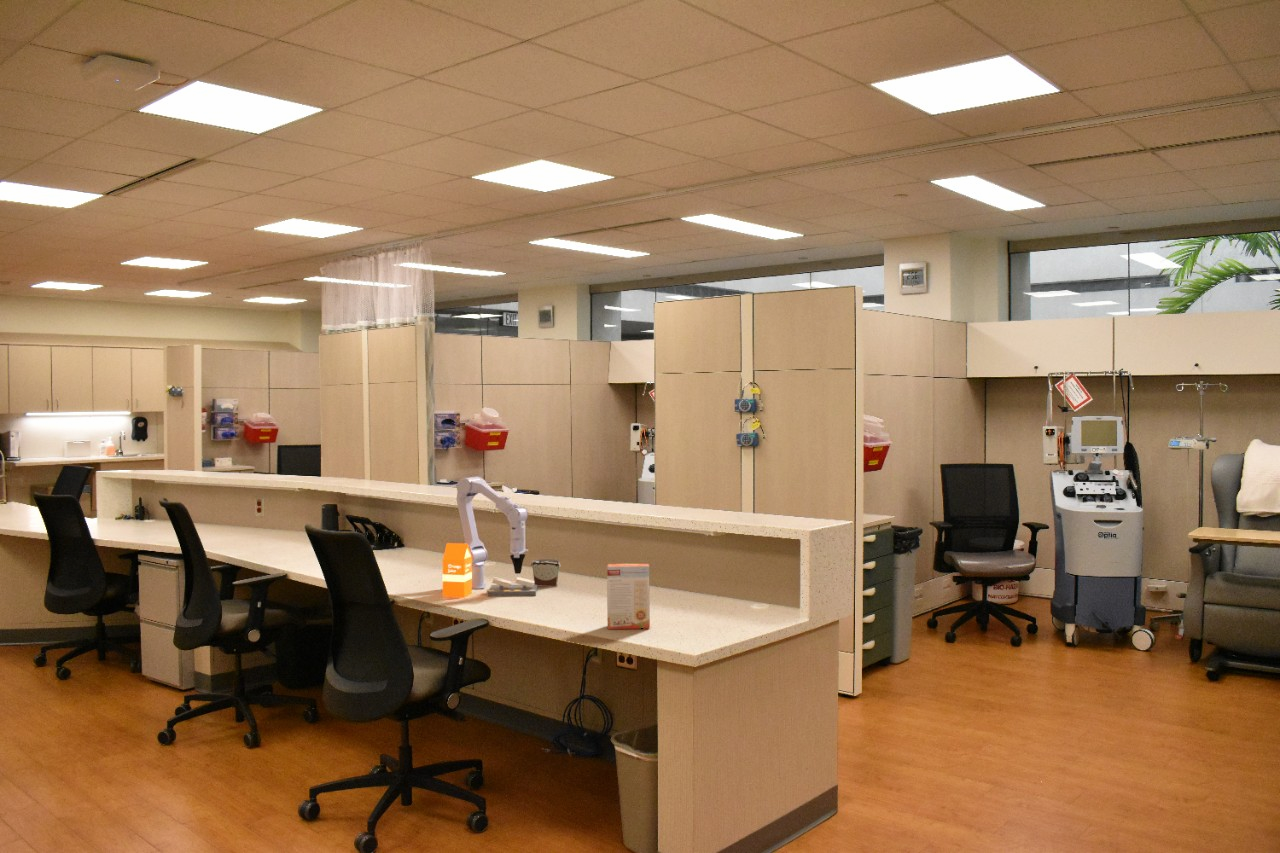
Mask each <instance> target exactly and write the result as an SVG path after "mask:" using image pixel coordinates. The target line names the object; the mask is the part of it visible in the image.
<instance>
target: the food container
mask: <svg viewBox="0 0 1280 853" xmlns="http://www.w3.org/2000/svg"><path fill="white" fill-rule="evenodd" d="M530 566H531V567H532V574H533V575H532V576H533V581H535V582H534V585H537V587H538V586H539V587H540V586H541V587H558V578H559V571H560V569H559V568H561V563H560V560H558V559H555V558H554V559H553V558H541V559H539V558H538V559H532V560H531V564H530Z"/></svg>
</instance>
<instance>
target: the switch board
mask: <svg viewBox="0 0 1280 853" xmlns="http://www.w3.org/2000/svg"><path fill="white" fill-rule="evenodd" d="M537 590H538V586H537V585H534V586H533V587H529V586H525V585H521V584H511V586H510V588H507V587H504V586H501V585H497V584H492V585H491V586H490V587H489V589H488V592H487V597H536V594H537V592H538V591H537Z"/></svg>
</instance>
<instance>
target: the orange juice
mask: <svg viewBox="0 0 1280 853" xmlns="http://www.w3.org/2000/svg"><path fill="white" fill-rule="evenodd" d="M472 590H473V589H472V557H471V553H470V550H469V546H468V544H465V543H452V542H446V545H445V549H444V552H443V558H442V597H443V598H463V599H465V598H466V597H468V596H470V595H472V593H473V591H472Z"/></svg>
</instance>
